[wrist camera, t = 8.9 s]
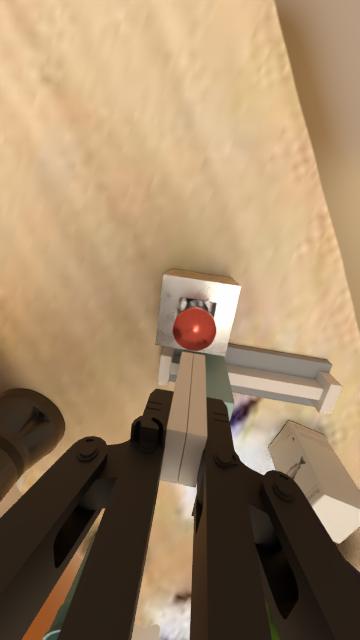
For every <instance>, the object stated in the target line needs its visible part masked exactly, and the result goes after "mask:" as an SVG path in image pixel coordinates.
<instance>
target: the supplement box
mask: <svg viewBox="0 0 360 640" xmlns="http://www.w3.org/2000/svg"><path fill="white" fill-rule="evenodd" d="M268 448H269V451H270V454H271V457H272V460H273V463H274V466H275V469H276V471H280V472H282V473H284V474H287V475H288V476H289V477H291V478H292V479H293V480H294V481H295V482H296V483H297V484H298V486H299V487H300V488H301V490H302V491H303V493H304V495H305V496H306V498H307V500H308V501H309V503H310V504H311V506H312V508H313V509H314V511H315V513H316V514H317V516H318V517H319V519H320V521H321V522H322V524H323V526H324V527H325V529H326V530H327V532H328V534H329V535H330V537H331V539H332V540H333V541H334V542H336V543H338V544H340V543H341V542H342V541H344V540H345V539H346V538H347V537H348V536H349V535H350V534H352V533H353V532H354V531H355V530H357V529H358V528H359V527H360V490H359V489H358V487H357V486H356V484H355V483H354V481H353V480H352V478H351V476H350V475H349V473H348V472H347V470H346V469H345V467H344V466H343V464H342V463H341V461H340V459H339V458H338V456H337V455H336V453H335V452H334V450H333V449H332V447H331V446H330V444H329V442H328V441H327V439H326V438H325V436H324V435H322V434H320V433H318V432H316V431H313V430H311V429H308V428H306V427H304V426H301V425H299V424H297V423H294V422H292V421H288V422H287V423H286V425H285V426H284V428H283V429H282V431H281V432H280V433H279V434H278V436H277V437H276V438H275V440H274V441H273V442H272V443H271V444H270V446H269V447H268Z"/></svg>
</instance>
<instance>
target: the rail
mask: <svg viewBox="0 0 360 640" xmlns="http://www.w3.org/2000/svg"><path fill="white" fill-rule="evenodd" d="M182 352H186V350H184V349H178V348H172V347H166V346H164V349H163V351H162V354H161V359H160V367H159V376H158V384H160V385H165V386H168V383H169V381H172V382H176V379H177V374H178V369H179V364H180V359H181V354H182ZM224 359H225V362H226V366H227V371H228V375H229V380H230V385H231V390H232V392H234V393H239V394H245V395H251V396H256V397H262V398H268V399H273V400H279V401H285V402H290V403H296V404H302V405H307V406H313V407H315V408H316V409H317V411H318V412H319V413H322V414H328V415H330V414H331V412H332V410H333V407H334V405H335V403H336V401H337V398H338V396H339V394H340V392H341V389H342V387H343V386H342V385H341V384H340V383H339V382H338V381H337V380H336V379H335V378H334V377H333V376H332V375H331V374H330V373H329V372H330V369H331V367H332V364H331V363H330V362H329V361H328V360H325V359H319V358H313V357H307V356H301V355H295V354H289V353H283V352H277V351H271V350H265V349H259V348H252V347H246V346H240V345H234V344H228V346H227V350H226V354H225V356H224Z"/></svg>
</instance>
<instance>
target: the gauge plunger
mask: <svg viewBox="0 0 360 640" xmlns="http://www.w3.org/2000/svg"><path fill="white" fill-rule="evenodd" d="M173 336H174V338H175V340H176V342H177V343H178V344H179V345H180V346H181V347H183V348H185V349H187V350H191V351H199V350H203V349H205V348H207V347H208V346H209V345H211V343H212V342H213V341H214V339H215V336H216V324H215V320H214V318H213V316H212V315H211V314H210V313H209V312H208V307H207V305H206V304H205V303H204V302H202V301H200V300H192V301H190V302H189V303H187V305H186V306H185V309H184V310H183V311H181V312H180V313H179V314H178V316H177V317H176V319H175V322H174V324H173Z"/></svg>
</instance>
